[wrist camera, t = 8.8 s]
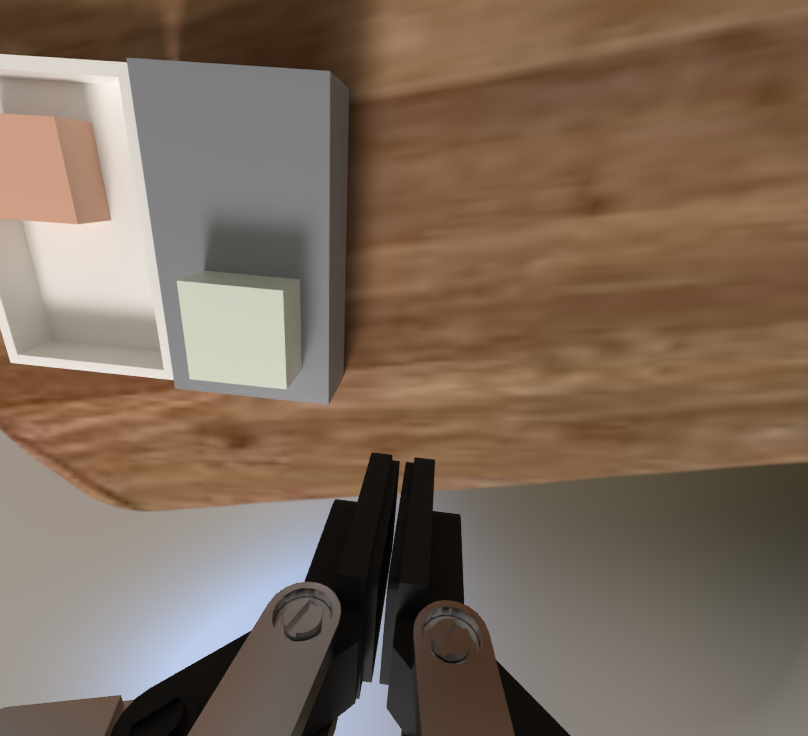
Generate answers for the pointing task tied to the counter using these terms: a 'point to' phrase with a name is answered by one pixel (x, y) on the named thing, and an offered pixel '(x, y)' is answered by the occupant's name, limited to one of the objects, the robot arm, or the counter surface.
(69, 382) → the counter surface
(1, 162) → the tile
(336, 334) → the plate
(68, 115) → the tray
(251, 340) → the tile
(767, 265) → the counter surface
